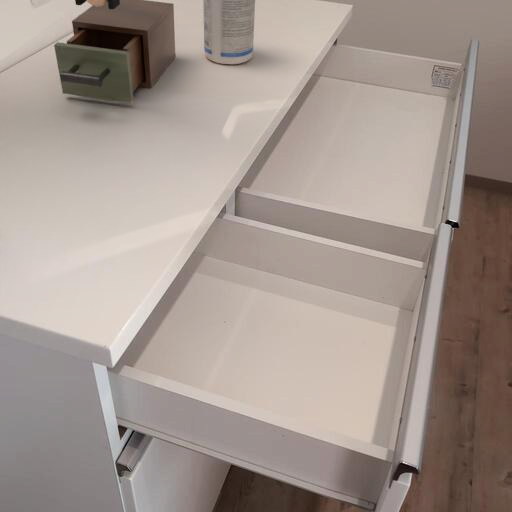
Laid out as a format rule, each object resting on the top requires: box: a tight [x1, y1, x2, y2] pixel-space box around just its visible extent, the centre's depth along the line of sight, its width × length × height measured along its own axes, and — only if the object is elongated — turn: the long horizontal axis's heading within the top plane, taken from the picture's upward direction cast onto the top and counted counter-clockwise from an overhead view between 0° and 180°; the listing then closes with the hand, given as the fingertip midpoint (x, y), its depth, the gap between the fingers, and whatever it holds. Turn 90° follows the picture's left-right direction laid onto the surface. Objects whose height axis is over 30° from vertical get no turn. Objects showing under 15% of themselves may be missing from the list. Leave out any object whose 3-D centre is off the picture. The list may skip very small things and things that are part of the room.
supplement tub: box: [202, 0, 256, 65], centre depth 102 cm, size 10×10×15 cm
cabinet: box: [71, 0, 176, 89], centre depth 97 cm, size 15×13×10 cm
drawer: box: [53, 28, 146, 104], centre depth 89 cm, size 19×12×8 cm, turn 170°
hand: (98, 4), depth 83 cm, fingers closed on egg, 4 cm apart
